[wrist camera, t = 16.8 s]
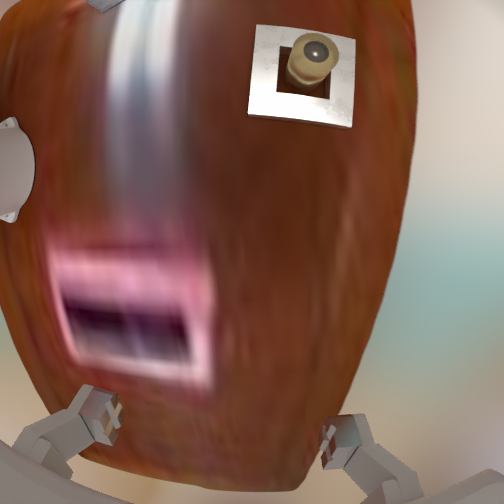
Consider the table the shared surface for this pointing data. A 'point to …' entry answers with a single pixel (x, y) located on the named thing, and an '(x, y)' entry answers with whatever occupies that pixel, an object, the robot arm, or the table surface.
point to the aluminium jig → (298, 106)
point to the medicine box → (103, 4)
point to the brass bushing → (310, 62)
